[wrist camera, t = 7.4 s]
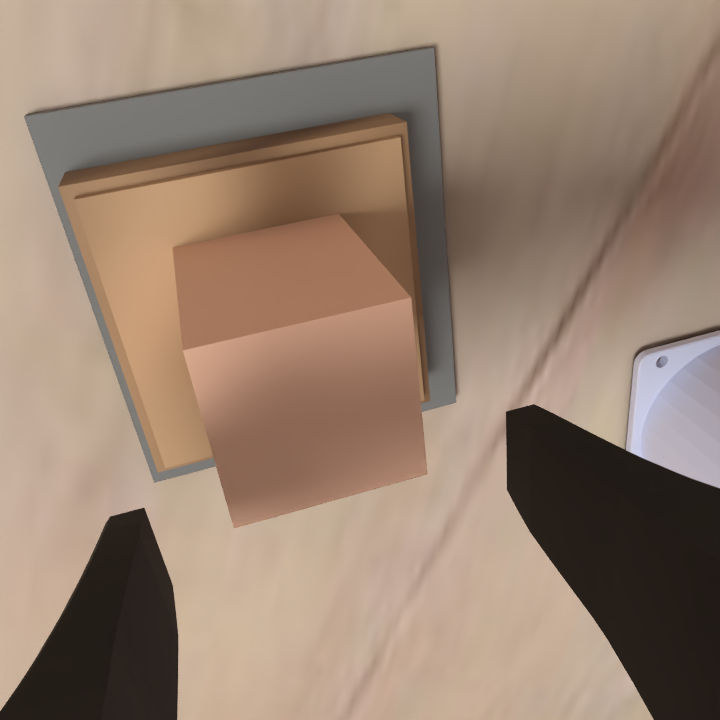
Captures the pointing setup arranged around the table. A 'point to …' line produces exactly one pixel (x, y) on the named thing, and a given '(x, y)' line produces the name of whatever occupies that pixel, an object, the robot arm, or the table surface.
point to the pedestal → (221, 219)
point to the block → (300, 366)
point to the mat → (259, 118)
